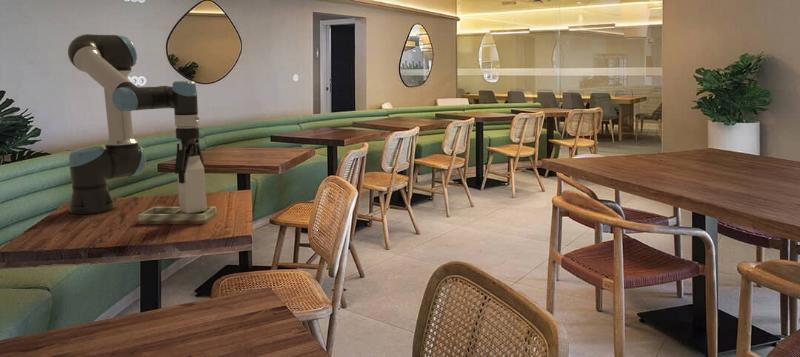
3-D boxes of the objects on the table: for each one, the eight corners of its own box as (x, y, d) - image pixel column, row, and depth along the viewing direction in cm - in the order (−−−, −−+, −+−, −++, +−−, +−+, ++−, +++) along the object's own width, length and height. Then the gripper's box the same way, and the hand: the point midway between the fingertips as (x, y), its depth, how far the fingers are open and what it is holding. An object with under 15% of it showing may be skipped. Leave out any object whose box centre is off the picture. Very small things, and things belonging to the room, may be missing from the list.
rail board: (138, 224, 203) (137, 214, 203) (153, 215, 215) (152, 206, 214) (205, 223, 203) (204, 214, 202) (216, 215, 214) (216, 206, 214)
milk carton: (207, 210, 208) (203, 156, 204) (186, 214, 203) (182, 158, 200) (199, 207, 213) (196, 154, 210) (179, 210, 209) (175, 156, 205)
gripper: (184, 131, 190) (188, 196, 195) (210, 123, 215) (213, 181, 219) (160, 131, 191) (165, 195, 195) (189, 123, 215) (193, 180, 219)
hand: (191, 188), depth 207 cm, fingers open, 13 cm apart
